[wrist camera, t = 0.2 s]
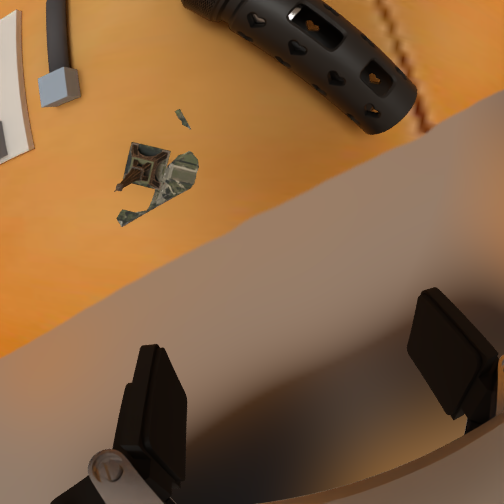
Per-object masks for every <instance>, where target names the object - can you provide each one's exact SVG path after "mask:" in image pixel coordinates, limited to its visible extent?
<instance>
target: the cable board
mask: <svg viewBox="0 0 504 504" xmlns="http://www.w3.org/2000/svg"><path fill="white" fill-rule="evenodd" d="M21 14H22V11H19V10H17V9H16V10H15V11H13V12H12V13H10V14H9V15H7V16H6V17H4V18H3V19H1V20H0V164H2V163H4V162H6V161H8V160H10V159H12V158H14V157H16V156H19V155H21V154H23V153H25V152H27V151H30V150H32V149H34V144H33V139H32V134H31V128H30V122H29V116H28V110H27V103H26V95H25V86H24V76H23V64H22V43H21Z"/></svg>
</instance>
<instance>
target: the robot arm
mask: <svg viewBox="0 0 504 504" xmlns="http://www.w3.org/2000/svg"><path fill="white" fill-rule="evenodd" d="M407 351H408V354H409V356H410V357H411V359H412V360H413V362H414V363H415V365H416V366H417V368H418V369H419V371H420V372H421V374H422V376H423V377H424V379H425V380H426V382H427V383H428V385H429V387H430V388H431V390H432V391H433V393H434V395H435V396H436V398H437V399H438V401H439V403H440V404H441V406H442V408H443V409H444V411H445V412H446V414H447V415H451V417H452V419H453V420H455V419H457V418H459V417H461V416H462V415H464V414H465V415H466V416H467V423H466V429H465V434H464V435H463V436H462V437H460V438H458V439H456V440H454V441H452V442H451V443H449V444H447V445H445V446H443V447H441V448H439V449H437V450H435V451H433V452H431V453H429V454H427V455H424V456H422V457H420V458H418V459H415V460H413V461H411V462H408V463H406V464H404V465H402V466H399V467H397V468H394V469H392V470H389V471H386V472H383V473H381V474H378V475H375V476H372V477H369V478H366V479H364V480H361V481H357V482H354V483H351V484H348V485H344V486H341V487H337V488H334V489H330V490H326V491H322V492H318V493H314V494H310V495H305V496H301V497H295V498H290V499H285V500H279V501H273V502H267V503H260V504H504V355H503V356H502V357H501V358H500V359H499V358H498V357H497V355H498V352H497V351H496V350H495V349H494V347H493V346H492V345H491V344H490V343H489V342H488V341H487V340H486V338H485V337H484V336H483V335H482V334H481V333H480V332H479V331H478V330H477V328H476V327H475V326H474V325H473V324H472V323H471V322H470V321H469V320H468V319H467V318H466V317H465V316H464V315H463V313H462V312H461V311H460V310H459V309H458V308H457V307H456V306H455V305H454V304H453V303H452V302H451V301H450V300H449V299H448V298H447V297H446V296H445V295H444V294H443V293H442V292H441V291H440V290H439V289H438V288H436V287H434V288H430V289H427V290H424V291H422V292H421V295H420V296H419V297H418V300H417V305H416V310H415V315H414V320H413V324H412V328H411V333H410V337H409V341H408V345H407ZM186 421H187V397H186V394H185V391H184V389H183V387H182V385H181V383H180V381H179V380H178V377H177V375H176V373H175V371H174V368H173V366H172V364H171V362H170V360H169V357H168V355H167V353H166V351H165V349H164V348H160V347H159V346H158V345H157V344H153V345H143V346H141V348H140V351H139V356H138V360H137V364H136V368H135V372H134V377H133V381H132V383H128V384H127V385H126V388H125V391H124V395H123V400H122V404H121V409H120V413H119V418H118V423H117V428H116V433H115V439H114V444H113V449H105V450H102V451H99V452H98V453H96V454H95V455H94V456H93V457H92V458H91V460H90V461H89V465H88V474H89V475H88V476H87V477H86V478H84V479H83V480H82V481H80V482H79V483H77V484H76V485H74V486H73V487H71V488H70V489H69V490H67V491H66V492H64V493H63V494H61V495H60V496H58V497H57V498H55V499H54V500H53V501H52V502H51V504H176V503H175V502H174V501H173V500H172V499H171V498H170V496H171V494H172V488H181V481H184V480H185V463H186V462H185V461H186V460H185V459H186Z"/></svg>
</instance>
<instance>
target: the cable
mask: <svg viewBox="0 0 504 504" xmlns="http://www.w3.org/2000/svg"><path fill="white" fill-rule="evenodd" d="M46 30H47V49H48V62H49V74H47V75H44V76H42V77H40V78H38V84H39V92H40V100H41V107H57V106H59V105H61V104H64V103H66V102H69V101H71V100H74V99H76V98H79V97H81V94H80V87H79V80H78V72H77V69H72V68H70V67H69V57H68V46H67V31H66V0H47V2H46Z"/></svg>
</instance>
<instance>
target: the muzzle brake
mask: <svg viewBox="0 0 504 504" xmlns="http://www.w3.org/2000/svg"><path fill="white" fill-rule="evenodd" d="M181 2H182V4H183V6H184V7H185V8H187V9H189V10H191V11H193V12H195V13H196V14H198V15H200V16H202V17H204V18H206V19H208V20H209V21H216V22H220V21H222V20H223V21H225V22H227V23H228V24H229V28H230V30H232V31H233V32H235V33H237V34H238V35H240V36H241V37H243V38H245V39H246V40H248V41H249V42H251V43H253V44H254V45H256V46H257V47H259V48H260V49H262V50H263V51H265V52H266V53H268V54H269V55H271V56H272V57H273V58H275V59H276V60H278V61H279V62H281V63H282V64H283V65H285V66H286V67H287V68H289V69H290V70H292V71H293V72H294V73H296V74H297V75H298V76H300V77H301V78H302V79H303V80H305V81H306V82H307V83H309V84H310V85H311V86H312V87H314V88H315V89H316V90H317V91H319V92H320V93H321V94H322V95H324V96H325V97H326V98H327V99H328V100H330V101H331V102H332V103H333V104H334V105H336V106H337V107H338V108H339V109H340V110H341V111H342V112H344V113H345V114H346V115H347V116H348V117H349V118H350V119H351V120H353V121H354V122H355V123H356V124H357V125H358V126H359V127H360V128H361V129H362V130H363V131H364V132H366V133H367V134H370V135H374V134H379V133H382V132H385V131H387V130H388V129H390V128H392V127H393V126H395V125H396V124H397V123H398V122H399V121H401V120H402V119H403V118H404V117H405V116H406V114H407V113H408V112H409V111H410V109H411V108H412V106H413V104H414V102H415V100H416V96H417V89H416V86H415V85H414V84H413V83H412V82H411V81H410V80H409V79H408V78H407V76H406V75H405V74H404V73H403V72H402V71H401V70H400V69H399V68H398V67H397V66H396V65H395V64H394V63H393V62H392V61H391V60H390V59H389V58H388V57H387V56H386V55H385V54H384V53H383V52H382V51H381V50H380V49H379V48H378V47H377V46H376V45H375V44H374V43H373V42H372V41H371V40H369V39H368V38H367V37H366V36H365V35H364V34H363V33H362V32H360V31H359V30H358V29H357V28H356V27H355V26H353V25H352V24H351V23H350V22H349V21H348V20H346V19H345V18H344V17H343V16H341V15H340V14H339V13H338V12H336V11H335V10H334V9H332V8H331V7H330V6H329V5H327V4H326V3H325V2H323V1H322V0H181ZM307 20H310V21H312V22H313V24H314V25H317V26H319V29H318V30H308V26H307ZM370 73H373V74H375V75H376V78H378V79H380V82H370V78H369V74H370ZM373 109H375V110H377V111H378V113H375V112H372V110H373Z"/></svg>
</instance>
